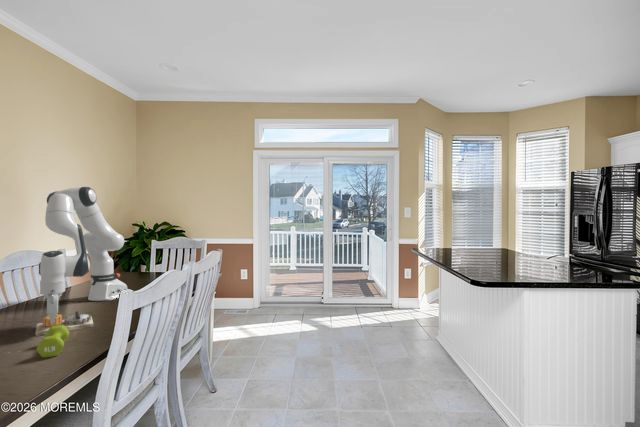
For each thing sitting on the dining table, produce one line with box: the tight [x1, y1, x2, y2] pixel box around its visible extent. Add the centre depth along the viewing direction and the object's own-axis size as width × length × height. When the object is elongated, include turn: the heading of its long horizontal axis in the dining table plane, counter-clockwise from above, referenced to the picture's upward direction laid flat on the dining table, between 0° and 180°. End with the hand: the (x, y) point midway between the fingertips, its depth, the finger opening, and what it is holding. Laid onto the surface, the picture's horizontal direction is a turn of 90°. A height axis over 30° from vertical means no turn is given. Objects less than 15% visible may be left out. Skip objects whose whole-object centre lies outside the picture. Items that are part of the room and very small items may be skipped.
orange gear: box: [42, 313, 63, 326], centre depth 149 cm, size 7×7×3 cm
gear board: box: [35, 310, 94, 337], centre depth 152 cm, size 20×13×6 cm, turn 128°
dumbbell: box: [36, 325, 70, 359], centre depth 128 cm, size 16×8×7 cm, turn 29°
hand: (52, 319), depth 149 cm, fingers closed on orange gear, 7 cm apart
